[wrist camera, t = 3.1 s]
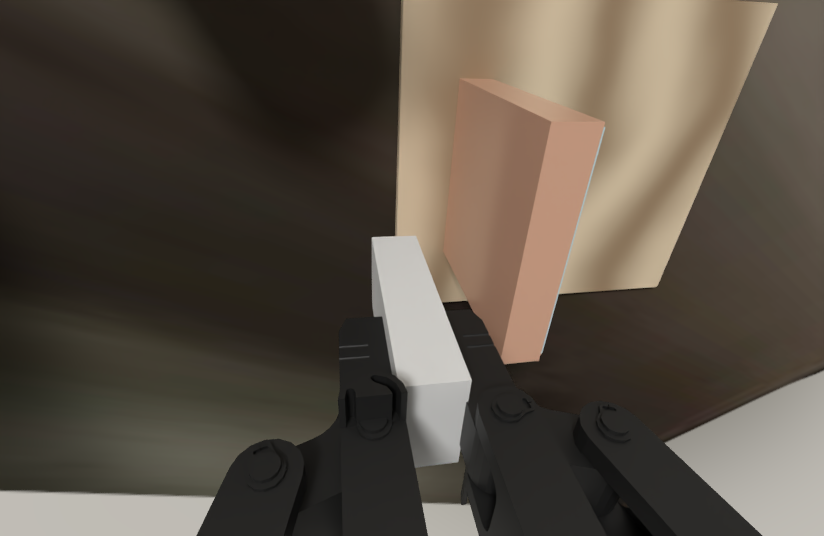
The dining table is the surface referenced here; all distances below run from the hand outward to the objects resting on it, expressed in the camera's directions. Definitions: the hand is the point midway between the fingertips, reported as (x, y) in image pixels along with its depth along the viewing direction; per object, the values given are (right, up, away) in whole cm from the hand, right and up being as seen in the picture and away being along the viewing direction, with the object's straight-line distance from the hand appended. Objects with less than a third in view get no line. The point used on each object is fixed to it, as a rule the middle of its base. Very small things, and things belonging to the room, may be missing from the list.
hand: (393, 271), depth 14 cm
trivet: (+10, +6, +11) cm, 16 cm away
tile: (+4, +6, +9) cm, 11 cm away
